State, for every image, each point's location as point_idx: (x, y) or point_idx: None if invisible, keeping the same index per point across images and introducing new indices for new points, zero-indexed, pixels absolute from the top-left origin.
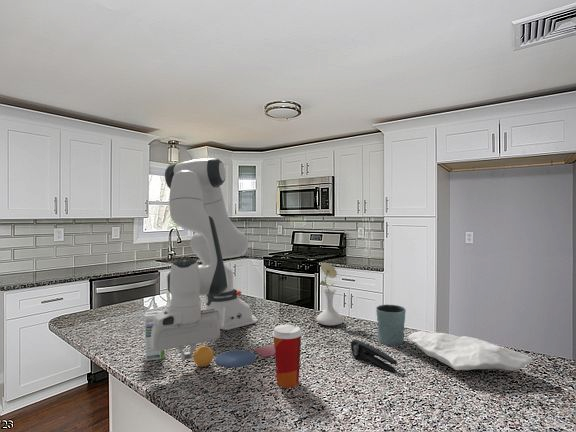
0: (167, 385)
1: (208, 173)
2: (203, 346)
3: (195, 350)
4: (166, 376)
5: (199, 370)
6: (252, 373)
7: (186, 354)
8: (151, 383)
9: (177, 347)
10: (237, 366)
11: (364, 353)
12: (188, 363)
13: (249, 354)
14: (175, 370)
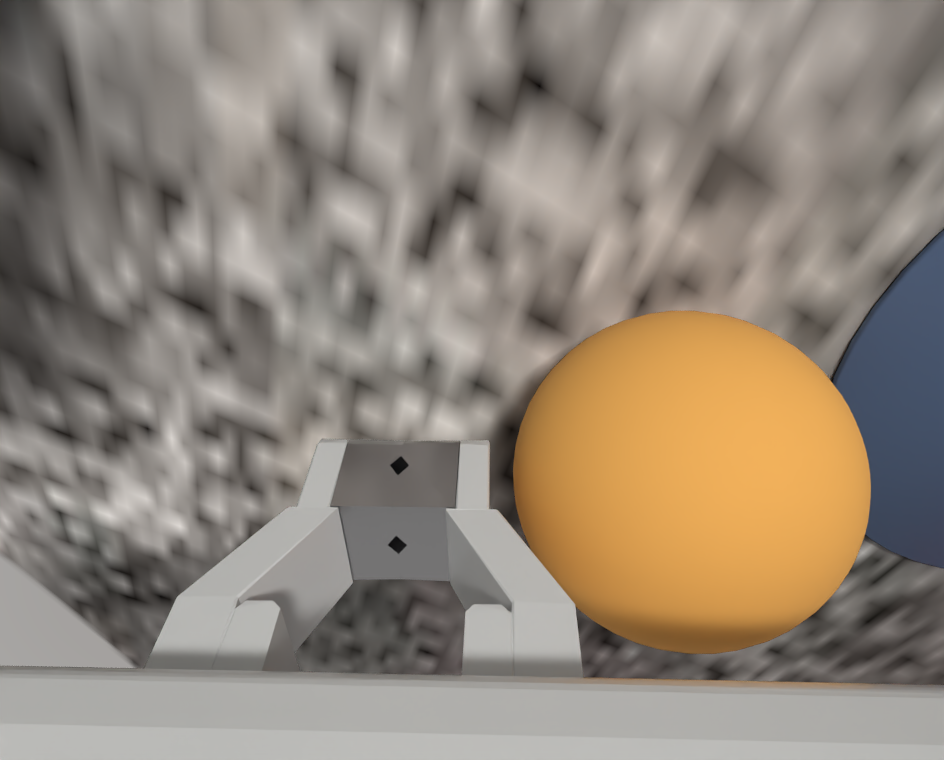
0: (182, 573)
1: None
2: (735, 619)
3: (583, 498)
4: (155, 419)
5: None
6: (910, 683)
7: (378, 576)
8: (8, 485)
9: (172, 609)
10: (931, 563)
11: None
12: (490, 180)
13: None
14: (267, 321)
